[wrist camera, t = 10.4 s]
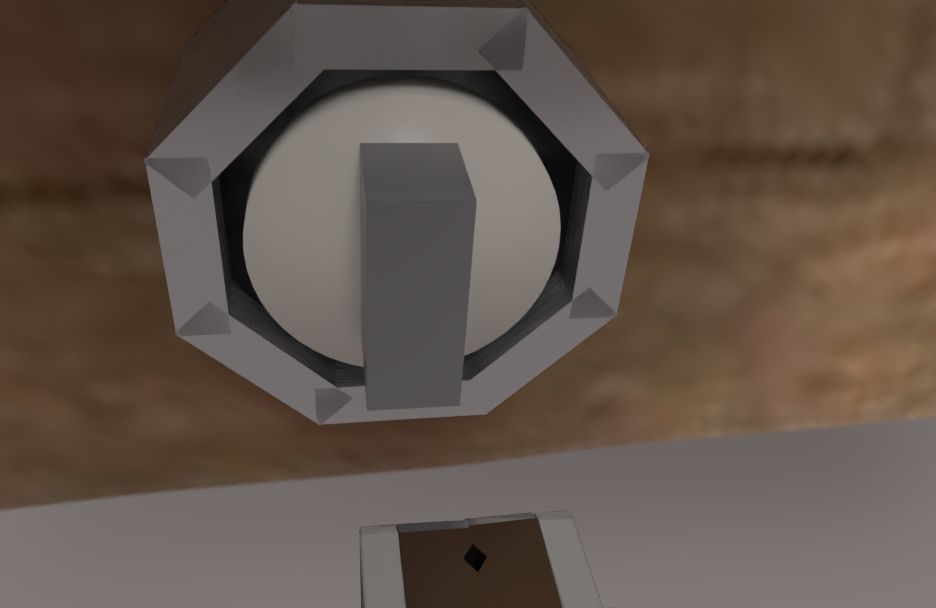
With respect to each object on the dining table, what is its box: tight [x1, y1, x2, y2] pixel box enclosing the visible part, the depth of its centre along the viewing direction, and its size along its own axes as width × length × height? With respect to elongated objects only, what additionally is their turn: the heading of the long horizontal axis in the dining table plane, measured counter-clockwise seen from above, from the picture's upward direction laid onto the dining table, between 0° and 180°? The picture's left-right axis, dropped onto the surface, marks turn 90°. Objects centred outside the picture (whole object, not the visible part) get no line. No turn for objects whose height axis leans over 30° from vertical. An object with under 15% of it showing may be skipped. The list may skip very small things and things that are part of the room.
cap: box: [243, 75, 561, 411], centre depth 18 cm, size 7×7×4 cm
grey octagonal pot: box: [144, 0, 650, 425], centre depth 21 cm, size 10×10×7 cm
